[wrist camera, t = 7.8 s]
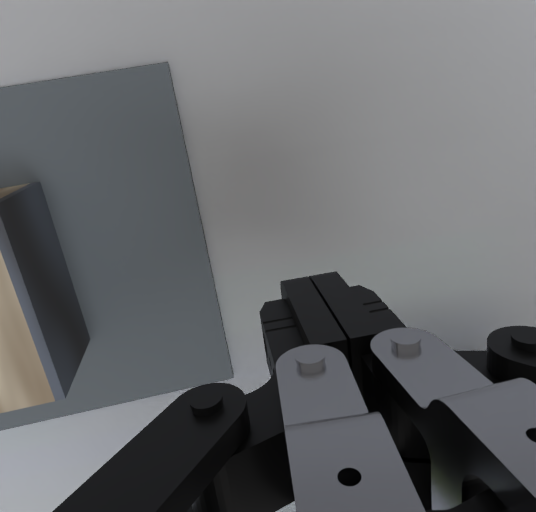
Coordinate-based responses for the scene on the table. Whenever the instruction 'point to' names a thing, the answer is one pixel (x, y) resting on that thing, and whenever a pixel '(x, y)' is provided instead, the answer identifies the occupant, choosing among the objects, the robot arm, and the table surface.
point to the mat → (119, 232)
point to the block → (35, 304)
